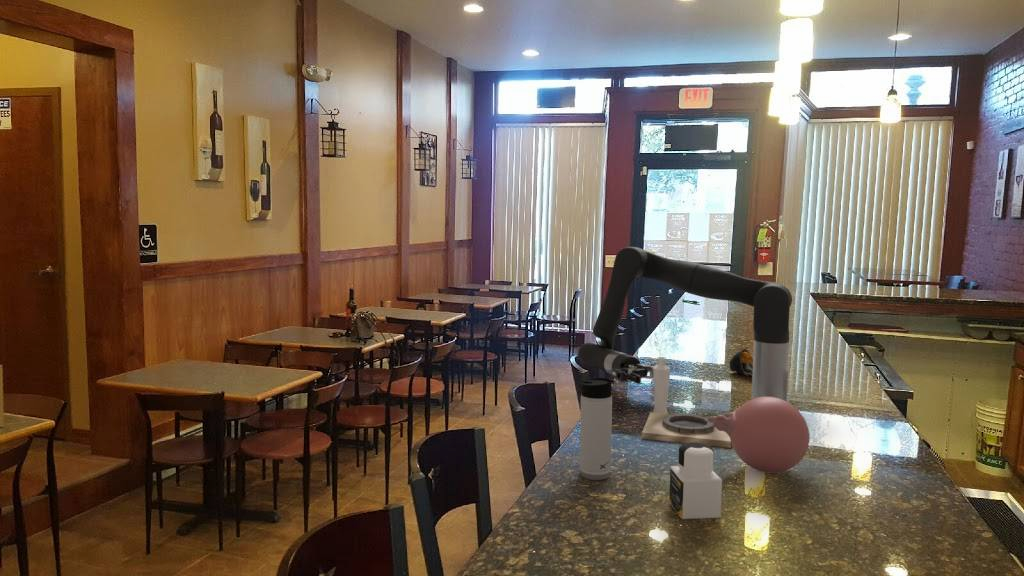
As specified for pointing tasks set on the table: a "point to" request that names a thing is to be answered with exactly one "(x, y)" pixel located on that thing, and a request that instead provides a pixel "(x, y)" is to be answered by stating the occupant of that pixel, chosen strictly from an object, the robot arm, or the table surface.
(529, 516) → the table surface
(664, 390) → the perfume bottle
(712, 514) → the medicine bottle
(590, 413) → the travel mug
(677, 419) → the hub board
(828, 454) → the table surface
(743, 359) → the black and orange lump
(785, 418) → the balloon
